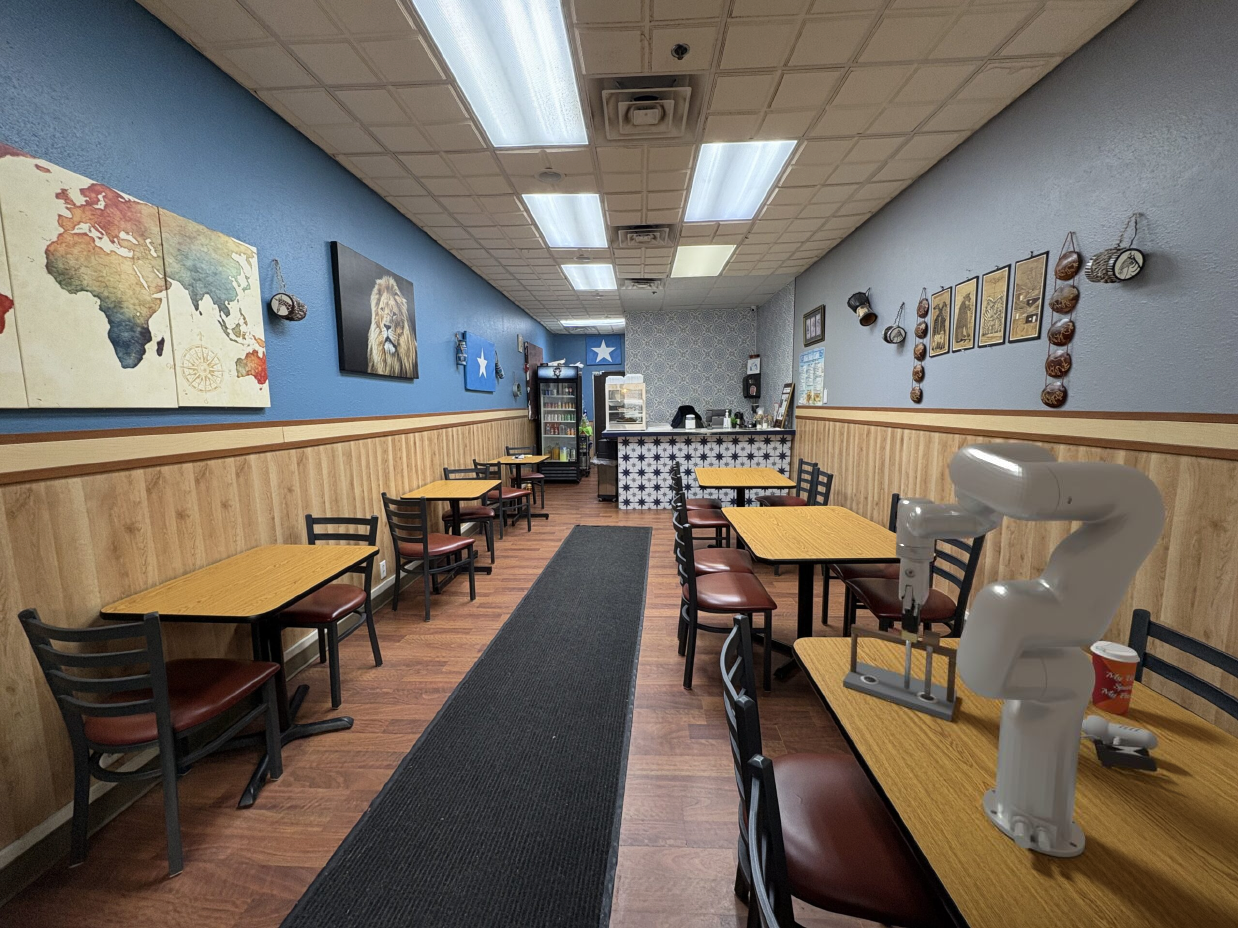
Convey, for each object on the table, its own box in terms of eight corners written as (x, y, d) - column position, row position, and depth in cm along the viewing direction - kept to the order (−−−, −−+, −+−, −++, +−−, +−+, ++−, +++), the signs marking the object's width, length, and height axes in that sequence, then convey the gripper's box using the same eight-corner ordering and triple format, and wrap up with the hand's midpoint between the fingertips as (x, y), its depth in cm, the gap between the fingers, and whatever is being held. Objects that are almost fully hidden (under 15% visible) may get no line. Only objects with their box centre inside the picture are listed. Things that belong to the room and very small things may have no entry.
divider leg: (914, 692, 111) (918, 610, 109) (898, 687, 114) (902, 606, 111) (917, 684, 115) (921, 603, 113) (902, 679, 117) (905, 600, 115)
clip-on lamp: (1030, 751, 99) (1159, 783, 85) (1022, 721, 99) (1150, 748, 85) (1042, 722, 106) (1163, 747, 92) (1035, 694, 106) (1155, 715, 92)
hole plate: (950, 721, 104) (951, 714, 104) (843, 685, 118) (843, 679, 118) (956, 696, 113) (957, 689, 113) (855, 665, 127) (856, 660, 127)
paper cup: (1111, 718, 104) (1116, 657, 103) (1076, 697, 112) (1081, 640, 110) (1145, 717, 104) (1151, 655, 103) (1108, 696, 112) (1114, 639, 111)
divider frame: (952, 706, 107) (956, 644, 105) (847, 674, 121) (849, 618, 119) (954, 697, 110) (958, 637, 109) (852, 666, 124) (854, 613, 123)
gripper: (928, 563, 102) (924, 645, 104) (938, 546, 115) (934, 619, 117) (888, 556, 107) (885, 635, 109) (902, 541, 120) (899, 612, 121)
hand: (910, 626), depth 113 cm, fingers closed on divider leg, 3 cm apart
